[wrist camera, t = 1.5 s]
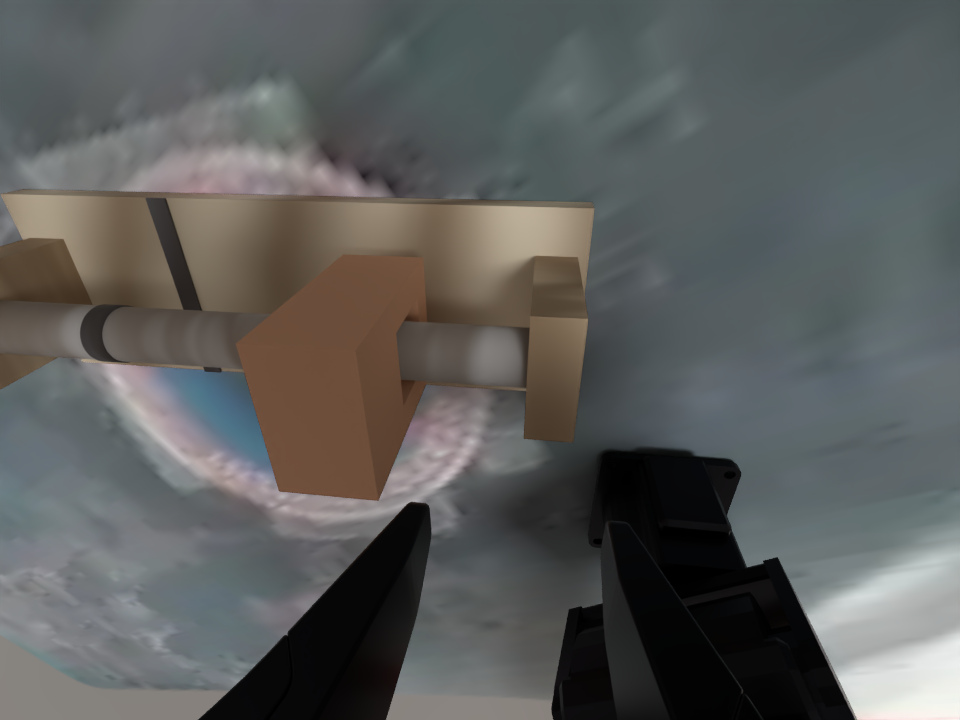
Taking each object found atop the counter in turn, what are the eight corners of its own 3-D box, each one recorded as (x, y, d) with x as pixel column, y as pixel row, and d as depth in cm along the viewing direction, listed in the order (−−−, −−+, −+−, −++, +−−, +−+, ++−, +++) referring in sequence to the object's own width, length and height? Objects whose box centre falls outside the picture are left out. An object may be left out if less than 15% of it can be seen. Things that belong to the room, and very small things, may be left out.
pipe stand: (592, 202, 18) (611, 256, 12) (572, 382, 22) (580, 484, 16) (23, 189, 20) (-174, 228, 15) (98, 352, 24) (-35, 431, 19)
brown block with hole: (422, 257, 17) (355, 351, 11) (430, 373, 20) (378, 500, 14) (343, 254, 18) (235, 343, 12) (360, 368, 20) (279, 491, 14)
